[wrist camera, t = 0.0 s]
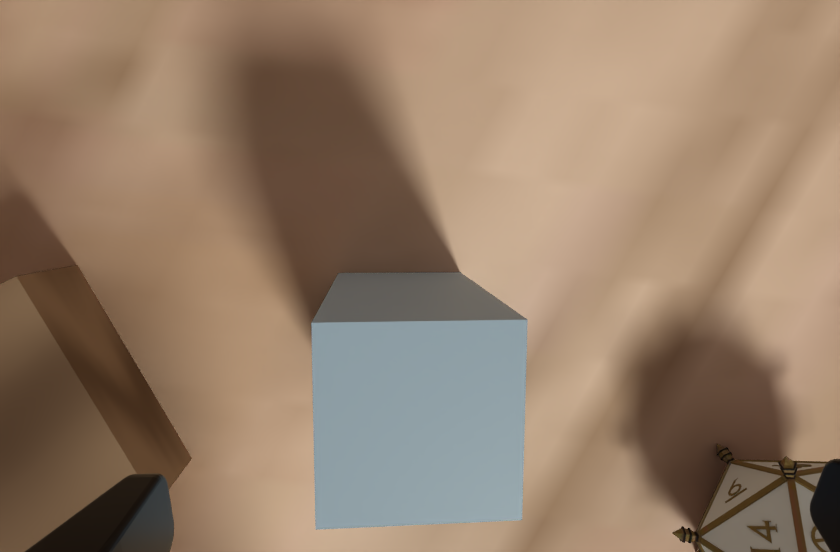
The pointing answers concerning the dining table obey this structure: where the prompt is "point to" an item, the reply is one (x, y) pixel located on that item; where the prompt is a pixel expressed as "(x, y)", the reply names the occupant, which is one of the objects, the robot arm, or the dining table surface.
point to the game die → (760, 508)
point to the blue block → (417, 402)
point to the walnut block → (69, 407)
